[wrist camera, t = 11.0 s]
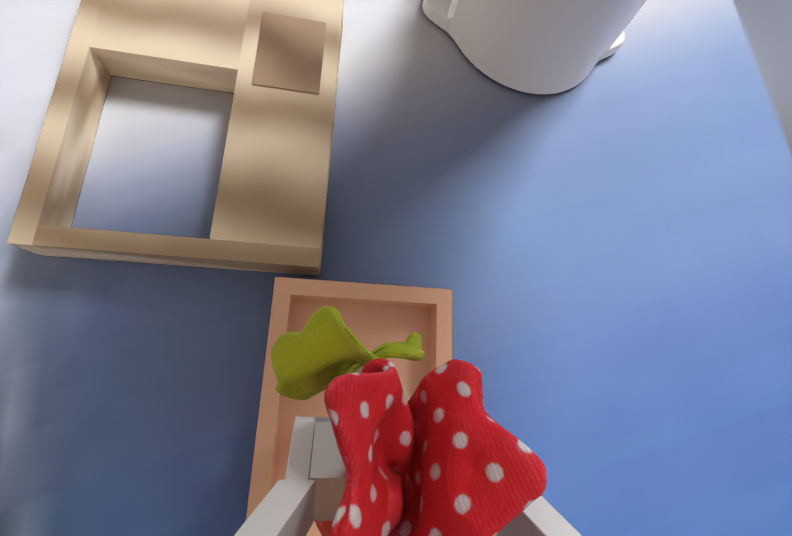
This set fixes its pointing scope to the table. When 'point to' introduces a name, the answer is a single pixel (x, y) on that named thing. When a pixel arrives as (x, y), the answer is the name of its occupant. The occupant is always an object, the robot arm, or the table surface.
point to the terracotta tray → (373, 326)
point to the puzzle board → (246, 138)
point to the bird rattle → (407, 437)
